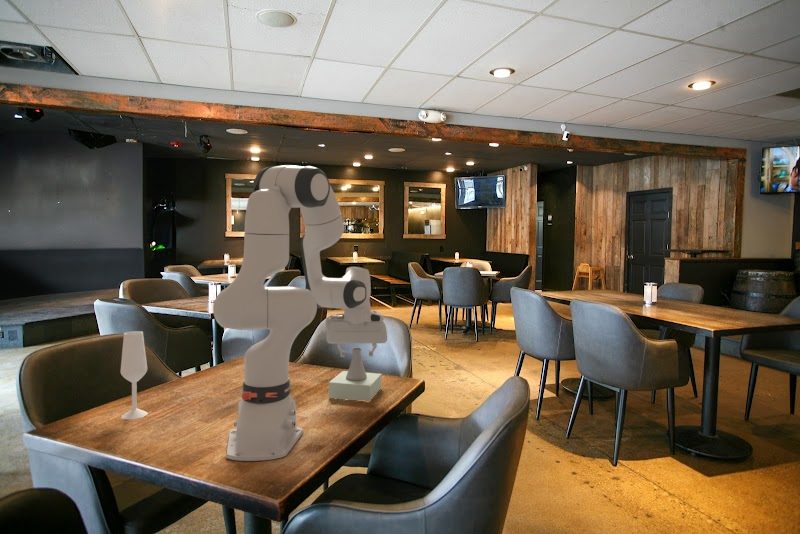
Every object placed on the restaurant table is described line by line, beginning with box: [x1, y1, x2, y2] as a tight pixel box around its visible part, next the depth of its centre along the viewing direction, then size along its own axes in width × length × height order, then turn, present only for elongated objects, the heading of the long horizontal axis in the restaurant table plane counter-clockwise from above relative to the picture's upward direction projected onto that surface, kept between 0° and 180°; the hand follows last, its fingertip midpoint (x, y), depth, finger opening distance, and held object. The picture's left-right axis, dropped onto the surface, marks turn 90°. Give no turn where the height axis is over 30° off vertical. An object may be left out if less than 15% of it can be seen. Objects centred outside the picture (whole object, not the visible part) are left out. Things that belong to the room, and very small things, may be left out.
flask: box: [346, 347, 367, 380], centre depth 157 cm, size 7×7×10 cm
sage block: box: [328, 370, 383, 401], centre depth 157 cm, size 14×14×6 cm
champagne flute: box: [120, 330, 149, 420], centre depth 134 cm, size 7×7×24 cm
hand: (356, 356), depth 157 cm, fingers open, 8 cm apart
